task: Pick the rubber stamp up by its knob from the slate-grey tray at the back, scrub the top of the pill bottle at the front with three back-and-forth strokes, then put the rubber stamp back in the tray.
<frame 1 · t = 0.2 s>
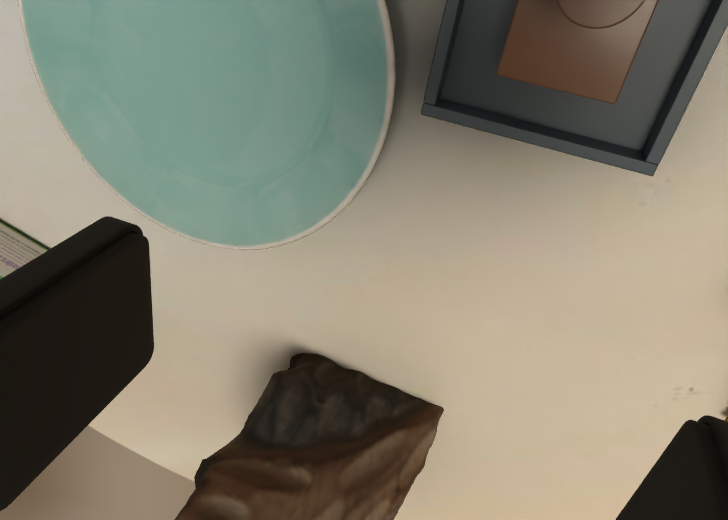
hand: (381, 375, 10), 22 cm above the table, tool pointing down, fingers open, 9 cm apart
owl: (363, 417, 43), on the table
game box: (26, 256, 45), on the table
plate: (219, 55, 32), on the table
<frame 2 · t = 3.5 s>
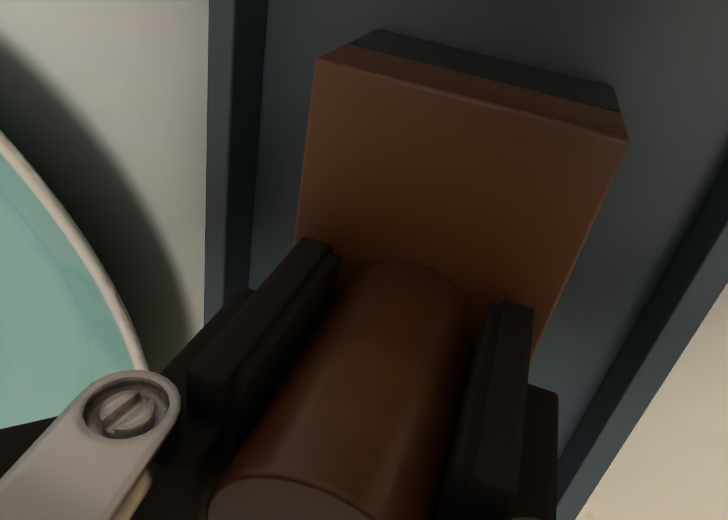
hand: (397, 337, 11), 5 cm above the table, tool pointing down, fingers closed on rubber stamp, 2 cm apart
rubber stamp: (438, 241, 14), point 1 cm above the table, touching gripper, tray
tray: (443, 231, 14), on the table
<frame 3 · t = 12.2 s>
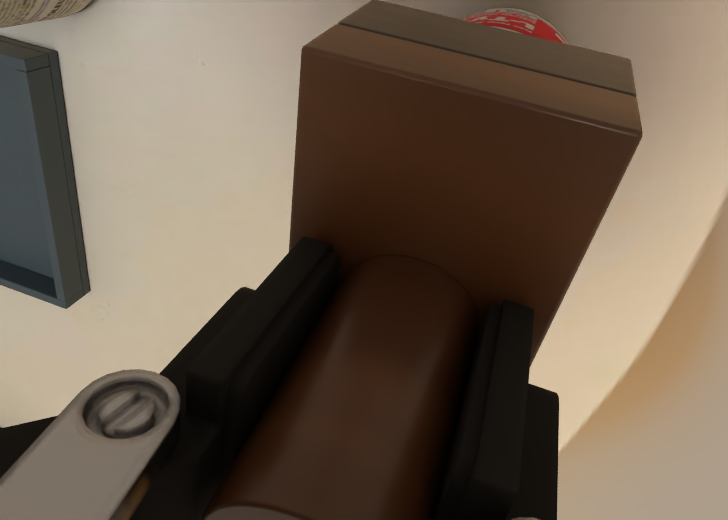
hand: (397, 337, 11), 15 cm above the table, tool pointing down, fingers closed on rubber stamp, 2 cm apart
rubber stamp: (443, 221, 13), point 11 cm above the table, tilted 5°, touching gripper, pill bottle
pill bottle: (497, 89, 22), on the table, touching rubber stamp
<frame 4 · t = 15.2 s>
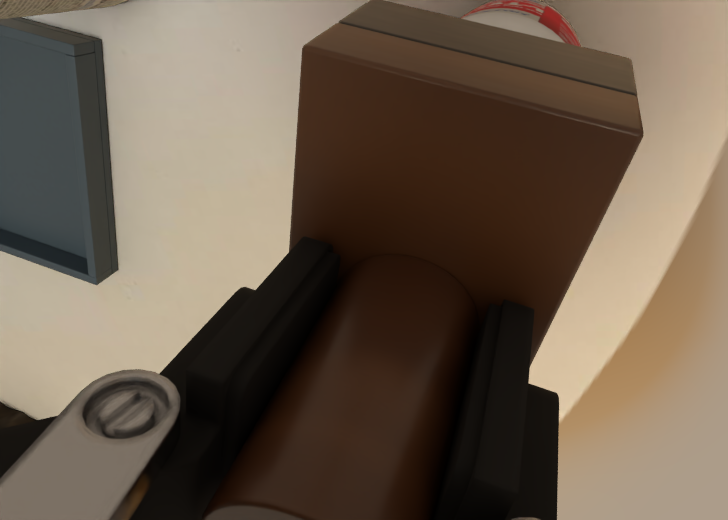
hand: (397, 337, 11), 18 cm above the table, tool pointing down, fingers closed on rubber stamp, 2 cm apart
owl: (38, 447, 53), on the table
rubber stamp: (444, 220, 13), point 14 cm above the table, tilted 7°, touching gripper
tray: (34, 144, 35), on the table
pill bottle: (508, 71, 25), on the table
when the fingers open (5 cm above the table, at t = 23.1 s): rubber stamp stays where it is, resting on tray.
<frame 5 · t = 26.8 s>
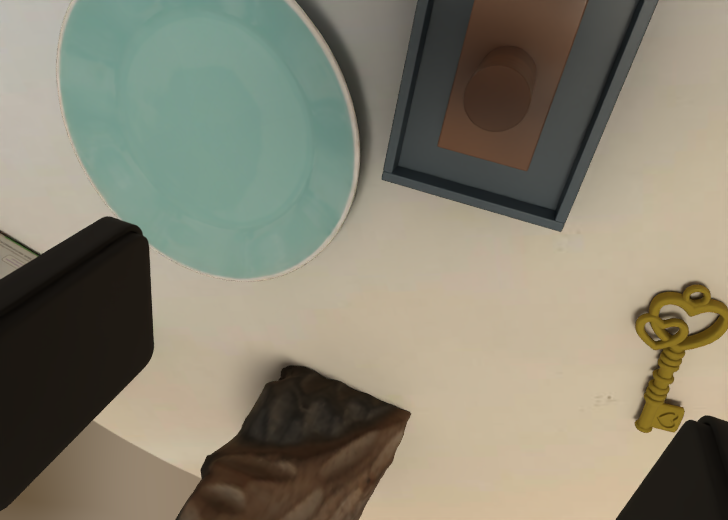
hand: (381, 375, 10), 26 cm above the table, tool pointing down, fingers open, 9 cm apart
key: (662, 353, 37), on the table
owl: (344, 420, 50), on the table
rubber stamp: (512, 62, 30), point 1 cm above the table, touching tray
game box: (52, 281, 52), on the table
tray: (510, 71, 31), on the table
plate: (220, 124, 39), on the table
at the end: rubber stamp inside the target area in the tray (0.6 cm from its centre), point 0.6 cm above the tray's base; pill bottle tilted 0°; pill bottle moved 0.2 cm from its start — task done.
